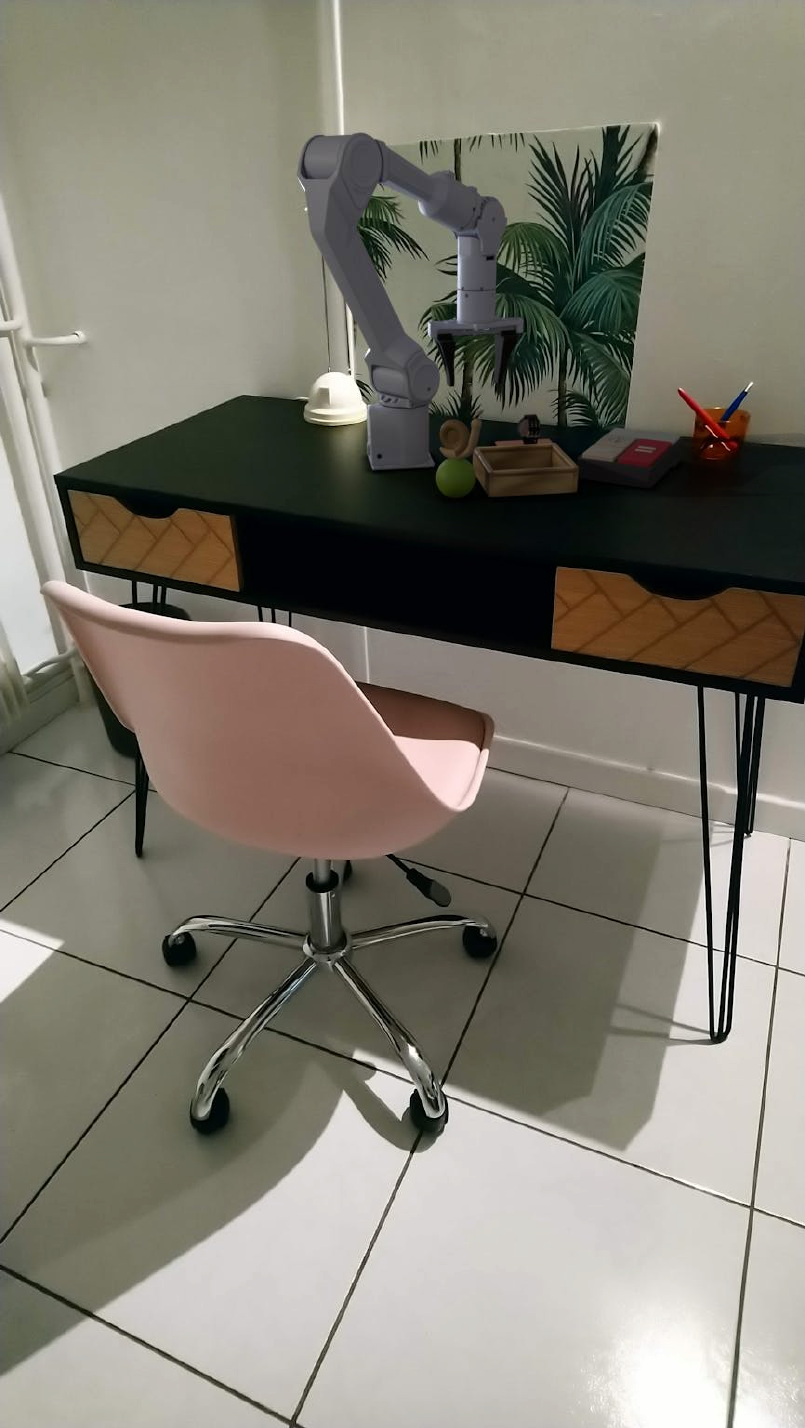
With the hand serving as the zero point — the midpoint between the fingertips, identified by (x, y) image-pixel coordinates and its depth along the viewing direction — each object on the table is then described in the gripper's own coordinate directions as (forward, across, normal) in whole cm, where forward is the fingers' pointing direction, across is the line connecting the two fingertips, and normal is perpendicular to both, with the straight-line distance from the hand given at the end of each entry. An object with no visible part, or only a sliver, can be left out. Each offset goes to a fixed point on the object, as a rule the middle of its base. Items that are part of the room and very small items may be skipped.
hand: (474, 383), depth 140 cm
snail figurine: (+10, -8, -26) cm, 29 cm away
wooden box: (+9, +2, -21) cm, 23 cm away
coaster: (+9, +8, -6) cm, 13 cm away
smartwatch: (+9, +8, -6) cm, 13 cm away
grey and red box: (+10, +19, -19) cm, 29 cm away
